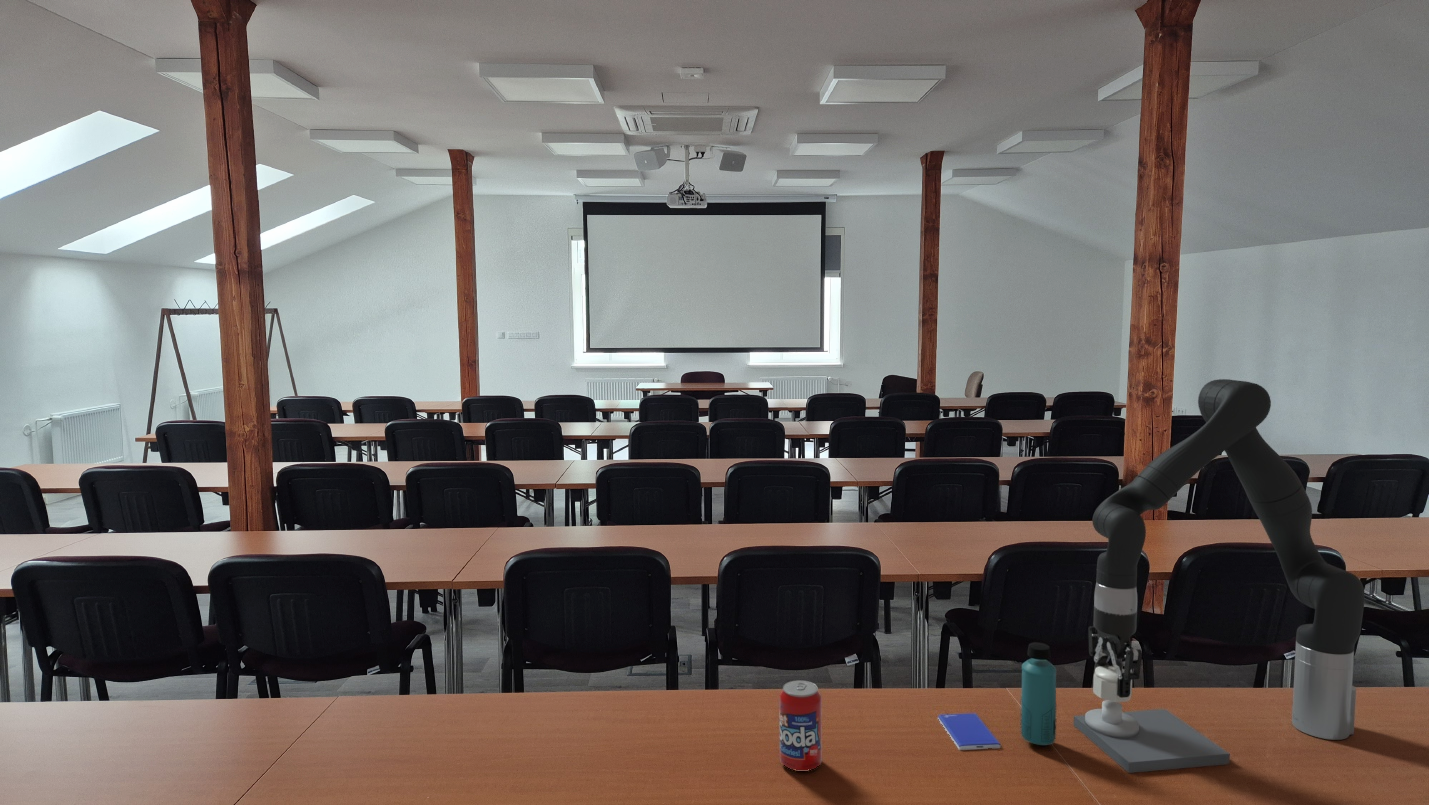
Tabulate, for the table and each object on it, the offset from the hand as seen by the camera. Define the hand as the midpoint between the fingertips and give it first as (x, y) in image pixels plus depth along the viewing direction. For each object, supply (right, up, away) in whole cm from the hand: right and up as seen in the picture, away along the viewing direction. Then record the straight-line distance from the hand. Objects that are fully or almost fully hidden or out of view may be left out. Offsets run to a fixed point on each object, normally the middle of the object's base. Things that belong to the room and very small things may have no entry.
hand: (1112, 688), depth 162 cm
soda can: (-62, -12, -8) cm, 64 cm away
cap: (0, -1, 0) cm, 1 cm away
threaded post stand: (+6, -10, -2) cm, 12 cm away
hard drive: (-28, -11, +3) cm, 30 cm away
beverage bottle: (-16, -10, -2) cm, 19 cm away
